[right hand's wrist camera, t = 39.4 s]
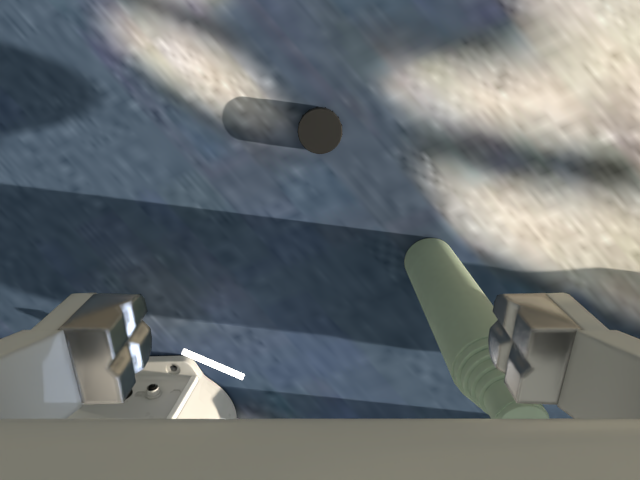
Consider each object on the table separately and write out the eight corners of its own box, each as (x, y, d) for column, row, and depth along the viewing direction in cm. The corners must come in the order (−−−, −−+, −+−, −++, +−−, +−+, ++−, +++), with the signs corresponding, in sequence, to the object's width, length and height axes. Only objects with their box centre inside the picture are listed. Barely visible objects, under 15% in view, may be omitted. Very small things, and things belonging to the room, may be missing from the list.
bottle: (438, 289, 49) (536, 470, 27) (395, 272, 48) (460, 444, 26) (462, 248, 47) (588, 407, 25) (418, 230, 46) (508, 377, 24)
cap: (347, 143, 43) (348, 146, 41) (306, 157, 44) (306, 160, 42) (334, 100, 42) (334, 101, 40) (292, 115, 42) (291, 117, 40)
